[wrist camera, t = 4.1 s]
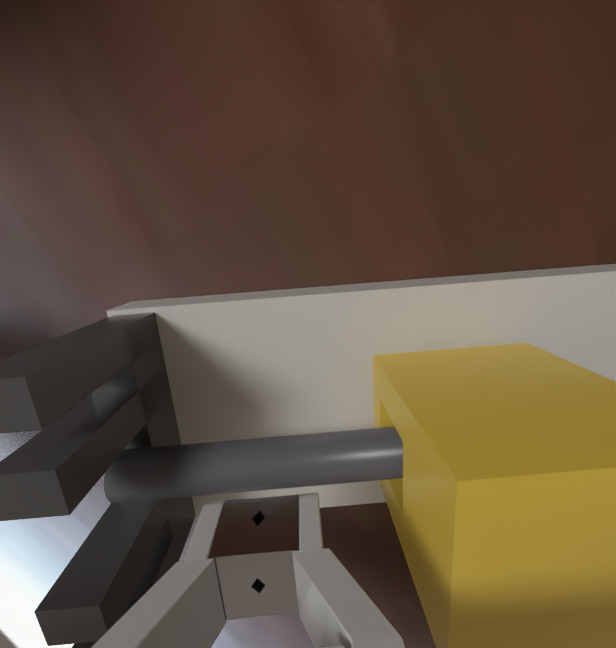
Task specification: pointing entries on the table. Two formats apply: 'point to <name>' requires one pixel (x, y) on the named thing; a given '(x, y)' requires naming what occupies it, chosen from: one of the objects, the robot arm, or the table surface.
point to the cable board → (246, 408)
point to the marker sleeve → (504, 494)
